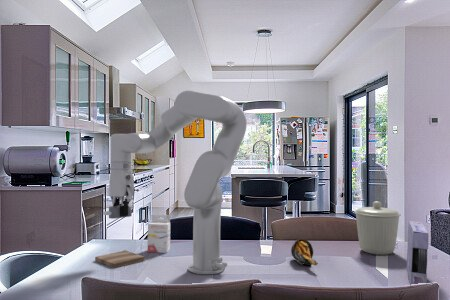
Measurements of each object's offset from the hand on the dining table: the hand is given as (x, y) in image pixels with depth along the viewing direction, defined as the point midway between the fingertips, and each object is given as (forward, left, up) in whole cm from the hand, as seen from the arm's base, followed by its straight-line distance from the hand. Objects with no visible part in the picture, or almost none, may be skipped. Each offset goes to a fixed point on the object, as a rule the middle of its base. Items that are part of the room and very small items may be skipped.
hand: (120, 214), depth 146 cm
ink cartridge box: (+1, -19, -17) cm, 26 cm away
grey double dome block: (0, 0, -1) cm, 1 cm away
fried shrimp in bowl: (-53, -44, -17) cm, 71 cm away
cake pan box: (-88, -54, -17) cm, 105 cm away
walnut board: (0, 0, -17) cm, 17 cm away
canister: (-65, -81, -17) cm, 105 cm away
